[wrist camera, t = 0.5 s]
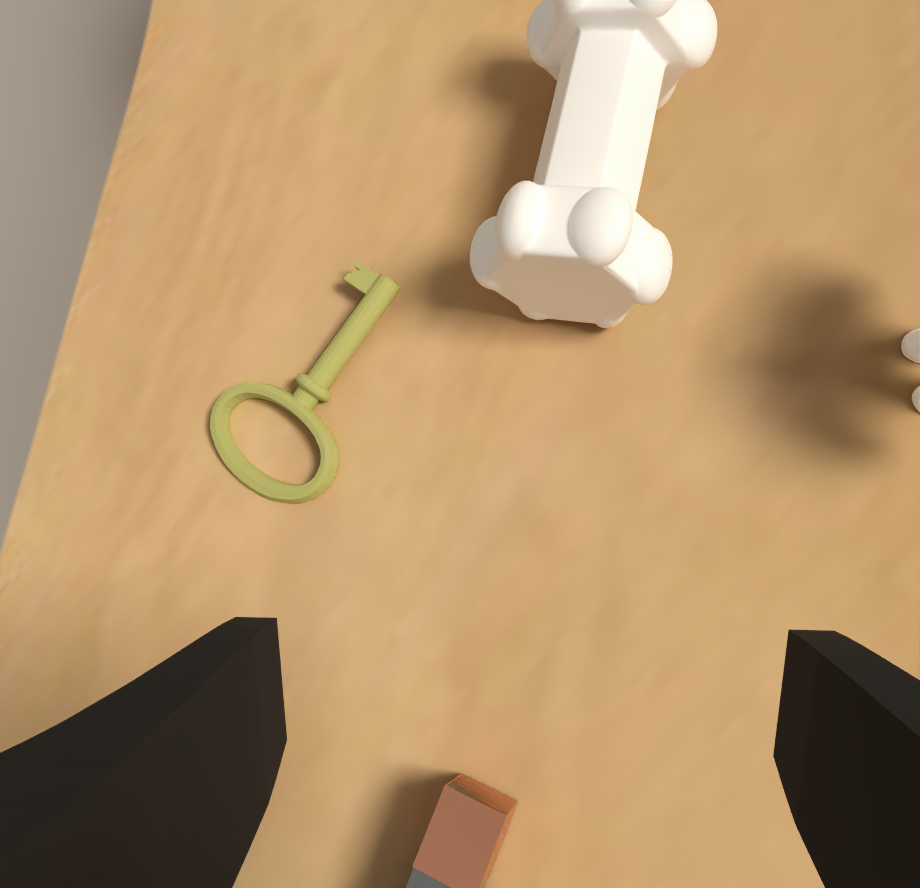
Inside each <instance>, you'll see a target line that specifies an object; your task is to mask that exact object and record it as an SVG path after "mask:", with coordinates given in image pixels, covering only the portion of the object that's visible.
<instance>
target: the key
mask: <svg viewBox="0 0 920 888" xmlns="http://www.w3.org/2000/svg"><path fill="white" fill-rule="evenodd" d="M354 266H355V268H356V269H358V270H359V271H358V273H357V272H355V271H354V270H353V272H352V273H349V272H348V274H347V275H346V277H345V278H344V280H345V281H346V282H347V283H349V284H350V285H352V286H353V287H355V288H356V289H358V290H359V291H361V292H362V293H364V294H365V296H364V297H363V299H362V300H361V301H360V303H359V304H358V306H357V307H356V308H355V310H354V311H353V312H352V314H351V315H350V317H349V318H348V319H347V321H346V322H345V323H344V325H343V326H342V328H341V329H340V330H339V332H338V333H337V334H336V336H335V337H334V339H333V340H332V341H331V343H330V344H329V345H328V347H327V348H326V350H325V351H324V352H323V354H322V355H321V356H320V358H319V359H318V361H317V362H316V363H315V365H314V366H313V367H312V369H311V370H310V372H309V373H308V374H307V375H306V374H303V373H299V374H298V375H297V376H296V378H295V379H296V382H297V383H298V385H299V387H298V388H297V390H296V391H295V392H294V394H291V393H289V392H287V391H285V390H283V389H282V388H279V387H276V386H273V385H270V384H264V383H253V382H244V383H240V384H237V385H234V386H232V387H230V388H229V389H227V390H226V391H225V392H223V394H222V395H221V396H220V397H219V398H218V400H217V401H216V403H215V405H214V406H213V408H212V412H211V416H210V430H211V435H212V439H213V441H214V444H215V447H216V449H217V451H218V453H219V455H220V457H221V459H222V460H223V462H224V464H225V465H226V467H227V468H228V469H229V470H230V471H231V472H232V474H233V475H234V476H235V477H236V478H237V479H238V480H239V481H240V482H242V483H243V484H244V485H245V486H247V487H248V488H249V489H251V490H252V491H254V492H256V493H257V494H259V495H261V496H262V497H265V498H267V499H269V500H272V501H277V502H281V503H290V504H296V503H304V502H307V501H310V500H312V499H315V498H317V497H318V496H320V495H321V494H323V493H324V492H325V491H326V489H327V488H328V487H329V486H330V485H331V483H332V482H333V480H334V478H335V477H336V474H337V471H338V468H339V460H340V459H339V449H338V446H337V443H336V441H335V438H334V436H333V434H332V432H331V431H330V429H329V428H328V426H327V425H326V423H325V422H324V421H323V419H322V418H321V417H320V416H319V415H318V414H317V413H316V412H315V411H314V410H313V409H314V407H315V406H316V405H317V403H318V402H319V400H320V401H324V402H328V401H329V400H330V399H331V394H330V392H329V391H328V388H329V387H330V385H331V384H332V382H333V381H334V380H335V378H336V377H337V376H338V374H339V373H340V371H341V370H342V369H343V367H344V366H345V365H346V363H347V362H348V360H349V359H350V358H351V356H352V355H353V354H354V352H355V351H356V349H357V348H358V347H359V345H360V344H361V343H362V341H363V340H364V338H365V337H366V336H367V334H368V333H369V331H370V330H371V329H372V327H373V326H374V325H375V323H376V322H377V320H378V319H379V318H380V316H381V315H382V314H383V312H384V311H385V309H386V308H387V307H388V305H389V304H390V303H391V301H392V300H393V298H394V297H395V296H396V294H397V293H398V291H399V290H400V289H401V288H400V287H399V286H398V285H397V284H396V283H395V282H393V281H392V280H391V279H389V278H388V277H387V276H385V275H383V274H380V275H377V274H376V273H374V272H373V271H371V270H370V269H368V268H367V267H365V266H364V265H362V264H361V263H359V262H358V261H356V263H355V264H354ZM251 398H260V399H265V400H268V401H271V402H274V403H276V404H278V405H280V406H281V407H283V408H285V409H287V410H288V411H290V412H291V413H293V414H294V415H295V416H296V417H297V418H299V419H300V420H301V421H302V422H303V423H304V424H305V425H306V426H307V427H308V428H309V429H310V431H311V432H312V434H313V435H314V437H315V439H316V441H317V444H318V446H319V448H320V453H321V461H320V466H319V468H318V471H317V473H316V475H315V476H314V478H313V479H312V480H311V481H309V482H308V483H306V484H304V485H297V484H291V483H286V482H282V481H279V480H277V479H274V478H272V477H270V476H268V475H267V474H265V473H263V472H262V471H260V470H259V469H258V468H256V467H255V466H254V465H253V464H252V463H251V462H249V461H248V460H247V458H246V457H245V456H244V455H243V454H242V452H241V451H240V450H239V448H238V447H237V445H236V443H235V441H234V439H233V436H232V434H231V431H230V428H229V419H230V415H231V413H232V411H233V409H234V408H235V407H236V406H237V405H239V404H240V403H241V402H243V401H245V400H247V399H251Z"/></svg>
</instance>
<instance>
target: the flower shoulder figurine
mask: <svg viewBox="0 0 920 888" xmlns="http://www.w3.org/2000/svg"><path fill="white" fill-rule="evenodd" d="M901 350H902V353H903V355H904V356H906V357H907V358H908V359H909V360H911V361H913V362H915V363H920V328H917V329H914V330H912V331H910V332H909V333H907V334H906V335H905V336H904V338H903V340H902V343H901ZM912 402H913V405H914V406H915V408H916V409H917V410H918V411H919V412H920V386H918V387H917V388H916V389H915V390H914V392H913V393H912Z"/></svg>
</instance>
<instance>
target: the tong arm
mask: <svg viewBox="0 0 920 888" xmlns="http://www.w3.org/2000/svg"><path fill="white" fill-rule="evenodd" d="M517 802H518V801H517V800H515V799H513V798H511V797H509V796H507V795H505V794H503V793H501V792H499V791H497V790H495V789H493V788H491V787H489V786H487V785H485V784H483V783H481V782H479V781H477V780H475V779H472V778H470V777H468V776H466V775H464V774H460V775H459V776H457V777H456V778H454V779H453V780H452V781H450V782H449V783H447V784H446V785H445V786H444V788H443V791H442V793H441V796H440V798H439V801H438V803H437V806H436V808H435V811H434V813H433V816H432V818H431V821H430V823H429V826H428V828H427V831H426V833H425V836H424V838H423V841H422V843H421V846H420V848H419V851H418V853H417V856H416V858H415V861H414V863H413V866H412V867H414V868H413V871H412V873H411V876H410V878H409V881H408V883H407V886H406V888H483V887H484V885H485V882H486V880H487V879H488V877H489V875H490V873H491V870H492V867H493V865H494V862H495V859H496V857H497V854H498V852H499V849H500V846H501V844H502V841H503V838H504V836H505V833H506V831H507V828H508V825H509V823H510V820H511V817H512V815H513V812H514V809H515V807H516V804H517Z"/></svg>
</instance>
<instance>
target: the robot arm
mask: <svg viewBox="0 0 920 888" xmlns="http://www.w3.org/2000/svg"><path fill="white" fill-rule="evenodd" d="M286 741H287V734H286V723H285V711H284V699H283V687H282V675H281V663H280V651H279V639H278V627H277V618H254V617H235V618H233V619H231V620H229V621H227V622H225V623H223V624H221V625H220V626H218V627H216V628H215V629H213V630H211V631H210V632H208V633H207V634H205V635H203V636H202V637H200V638H199V639H197V640H196V641H194V642H193V643H191V644H189V645H188V646H186V647H185V648H183V649H182V650H180V651H179V652H177V653H176V654H174V655H172V656H171V657H169V658H168V659H166V660H165V661H163V662H161V663H160V664H158V665H157V666H155V667H154V668H152V669H150V670H149V671H147V672H146V673H144V674H143V675H141V676H140V677H138V678H136V679H135V680H133V681H132V682H130V683H128V684H127V685H125V686H123V687H121V688H120V689H118V690H116V691H115V692H113V693H111V694H109V695H108V696H106V697H104V698H103V699H101V700H99V701H97V702H96V703H94V704H92V705H91V706H89V707H87V708H85V709H84V710H82V711H80V712H79V713H77V714H75V715H73V716H72V717H70V718H68V719H67V720H65V721H63V722H61V723H59V724H57V725H55V726H54V727H52V728H50V729H48V730H46V731H44V732H42V733H40V734H38V735H36V736H34V737H32V738H30V739H28V740H26V741H24V742H22V743H20V744H18V745H16V746H14V747H12V748H9V749H7V750H5V751H3V752H1V753H0V888H232V887H233V885H234V882H235V880H236V878H237V876H238V873H239V871H240V869H241V866H242V864H243V862H244V860H245V857H246V855H247V853H248V851H249V848H250V846H251V844H252V841H253V839H254V837H255V834H256V832H257V830H258V827H259V825H260V823H261V820H262V818H263V816H264V813H265V811H266V809H267V806H268V804H269V800H270V797H271V794H272V791H273V787H274V784H275V781H276V777H277V774H278V770H279V767H280V763H281V760H282V756H283V752H284V749H285V745H286ZM773 756H774V759H775V763H776V766H777V769H778V772H779V776H780V779H781V782H782V785H783V789H784V792H785V795H786V798H787V801H788V804H789V807H790V810H791V813H792V816H793V818H794V821H795V824H796V826H797V829H798V831H799V833H800V835H801V837H802V840H803V842H804V844H805V846H806V848H807V850H808V852H809V855H810V857H811V859H812V861H813V863H814V865H815V867H816V869H817V872H818V874H819V876H820V878H821V880H822V882H823V884H824V886H825V888H920V680H918V679H917V678H915V677H913V676H912V675H910V674H909V673H907V672H905V671H904V670H902V669H900V668H899V667H897V666H896V665H894V664H892V663H891V662H889V661H887V660H886V659H884V658H882V657H881V656H879V655H877V654H876V653H874V652H872V651H871V650H869V649H867V648H866V647H864V646H862V645H861V644H859V643H857V642H855V641H853V640H852V639H850V638H848V637H846V636H844V635H842V634H840V633H838V632H836V631H820V630H789V632H788V640H787V648H786V656H785V664H784V673H783V681H782V689H781V697H780V706H779V714H778V722H777V730H776V738H775V747H774V755H773Z"/></svg>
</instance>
